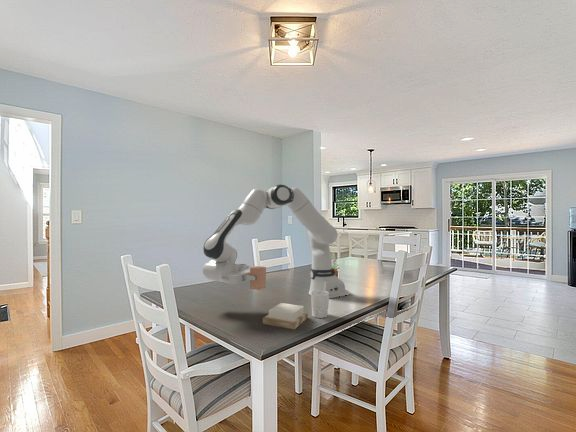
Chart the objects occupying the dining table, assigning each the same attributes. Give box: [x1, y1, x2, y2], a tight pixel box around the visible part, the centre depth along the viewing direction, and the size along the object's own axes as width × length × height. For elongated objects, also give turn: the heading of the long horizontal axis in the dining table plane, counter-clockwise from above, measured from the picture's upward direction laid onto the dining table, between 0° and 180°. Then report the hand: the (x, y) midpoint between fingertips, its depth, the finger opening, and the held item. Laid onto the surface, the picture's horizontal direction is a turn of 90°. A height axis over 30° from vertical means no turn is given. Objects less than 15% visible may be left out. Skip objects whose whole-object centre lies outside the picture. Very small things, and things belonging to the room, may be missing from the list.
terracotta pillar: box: [249, 265, 267, 291], centre depth 131 cm, size 5×5×9 cm
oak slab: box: [262, 311, 309, 330], centre depth 125 cm, size 14×14×3 cm
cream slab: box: [268, 302, 305, 322], centre depth 125 cm, size 11×11×3 cm
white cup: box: [310, 291, 330, 319], centre depth 131 cm, size 8×8×10 cm
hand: (259, 276), depth 130 cm, fingers closed on terracotta pillar, 5 cm apart
